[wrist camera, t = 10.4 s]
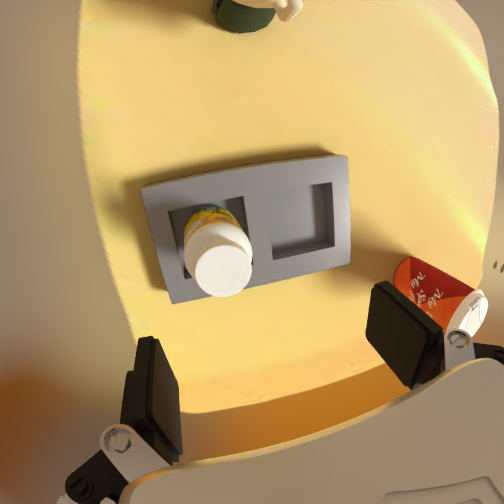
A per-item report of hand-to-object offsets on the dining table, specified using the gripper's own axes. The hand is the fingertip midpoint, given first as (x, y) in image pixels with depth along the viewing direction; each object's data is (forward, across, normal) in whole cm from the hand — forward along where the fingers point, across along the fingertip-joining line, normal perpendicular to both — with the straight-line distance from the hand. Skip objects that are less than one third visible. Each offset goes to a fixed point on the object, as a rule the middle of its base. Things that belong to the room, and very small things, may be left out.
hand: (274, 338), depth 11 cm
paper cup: (+19, -25, +13) cm, 34 cm away
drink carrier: (+19, -3, +1) cm, 19 cm away
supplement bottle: (+18, +1, +1) cm, 18 cm away
